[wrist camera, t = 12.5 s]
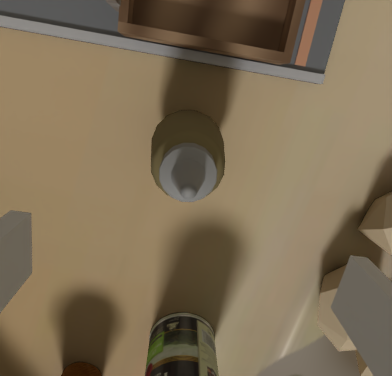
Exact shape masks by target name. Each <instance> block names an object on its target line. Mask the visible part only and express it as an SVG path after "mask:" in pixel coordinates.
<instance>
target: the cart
mask: <svg viewBox="0 0 392 376" xmlns="http://www.w3.org/2000/svg"><path fill="white" fill-rule="evenodd" d="M105 1H106V2H107V3H108V4H109V5H110V6H111V7H112V8H113V9H115V10H116V11H117V12H119V17H118V32H119V33H121V34H122V35H124V36H125V37H130V38H136V39H141V40H147V41H152V42H158V43H163V44H169V45H174V46H180V47H185V48H190V49H196V50H201V51H207V52H212V53H218V54H223V55H229V56H234V57H239V58H245V59H250V60H256V61H261V62H267V63H272V64H278V65H281V64H288V63H290V62H291V58H292V53H293V49H294V45H295V41H296V37H297V33H298V29H299V25H300V21H301V17H302V13H303V9H304V5H305V1H306V0H105Z"/></svg>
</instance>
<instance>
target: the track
mask: <svg viewBox="0 0 392 376" xmlns="http://www.w3.org/2000/svg"><path fill="white" fill-rule="evenodd" d="M344 2H345V0H306V1H305V5H304V9H303V13H302V17H301V21H300V25H299V29H298V33H297V37H296V41H295V45H294V49H293V53H292V58H291V62H290V63H288V64H281V65H278V64H272V63H267V62H261V61H256V60H250V59H245V58H239V57H234V56H229V55H223V54H218V53H212V52H207V51H201V50H196V49H190V48H185V47H180V46H174V45H169V44H163V43H158V42H152V41H147V40H141V39H136V38H130V37H125V36H124V35H122V34H121V33H119V32H118V17H119V12H117V11H116V10H115V9H113V8H112V7H111V6H110V5H109V4H108V3H107V2H106V1H105V0H0V27H4V28H10V29H15V30H21V31H26V32H32V33H38V34H43V35H49V36H54V37H60V38H65V39H71V40H76V41H82V42H88V43H93V44H99V45H104V46H110V47H115V48H121V49H126V50H132V51H138V52H143V53H149V54H154V55H160V56H165V57H171V58H176V59H182V60H188V61H193V62H199V63H204V64H210V65H215V66H221V67H226V68H232V69H238V70H243V71H249V72H254V73H260V74H265V75H271V76H276V77H282V78H288V79H293V80H299V81H304V82H310V83H315V84H323V81H324V77H325V75H324V72H325V69H326V65H327V62H328V58H329V55H330V51H331V48H332V44H333V41H334V37H335V33H336V30H337V26H338V23H339V19H340V16H341V12H342V9H343V5H344Z"/></svg>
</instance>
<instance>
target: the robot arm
mask: <svg viewBox="0 0 392 376" xmlns="http://www.w3.org/2000/svg"><path fill="white" fill-rule="evenodd" d="M31 273H32V231H31V213H28V212H20V211H12V210H11V211H9V212H8V213H7V214H5V215H4V216H3V217H1V218H0V313H1V311H2V310H3V309H4V308H5V306H6V305H7V304H8V302H9V301H10V300H11V299H12V297H13V296H14V295H15V294H16V292H17V291H18V290H19V289H20V287H21V286H22V285H23V284H24V282H25V281H26V280H27V279H28V277H29V276H30V275H31ZM331 309H332V311H333V312H334V314H335V315H336V317H337V319H338V320H339V322H340V323H341V325H342V327H343V328H344V330H345V331H346V333H347V335H348V336H349V338H350V339H351V341H352V342H353V344H354V346H355V347H356V349H357V350H358V352H359V354H360V355H361V357H362V358H363V360H364V362H365V363H366V365H367V366H368V368H369V369H370V371H371V373H372V374H373V376H392V281H391V280H390V279H389V278H388V277H387V276H386V275H385V274H384V273H383V272H382V271H381V270H380V269H379V268H378V267H377V266H376V265H375V264H373V263H372V262H371V261H370V260H369V259H368V258H367V257H360V256H352V255H350V258H349V260H348V263H347V266H346V268H345V271H344V274H343V276H342V279H341V281H340V284H339V287H338V289H337V292H336V294H335V297H334V300H333V302H332V305H331Z"/></svg>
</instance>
